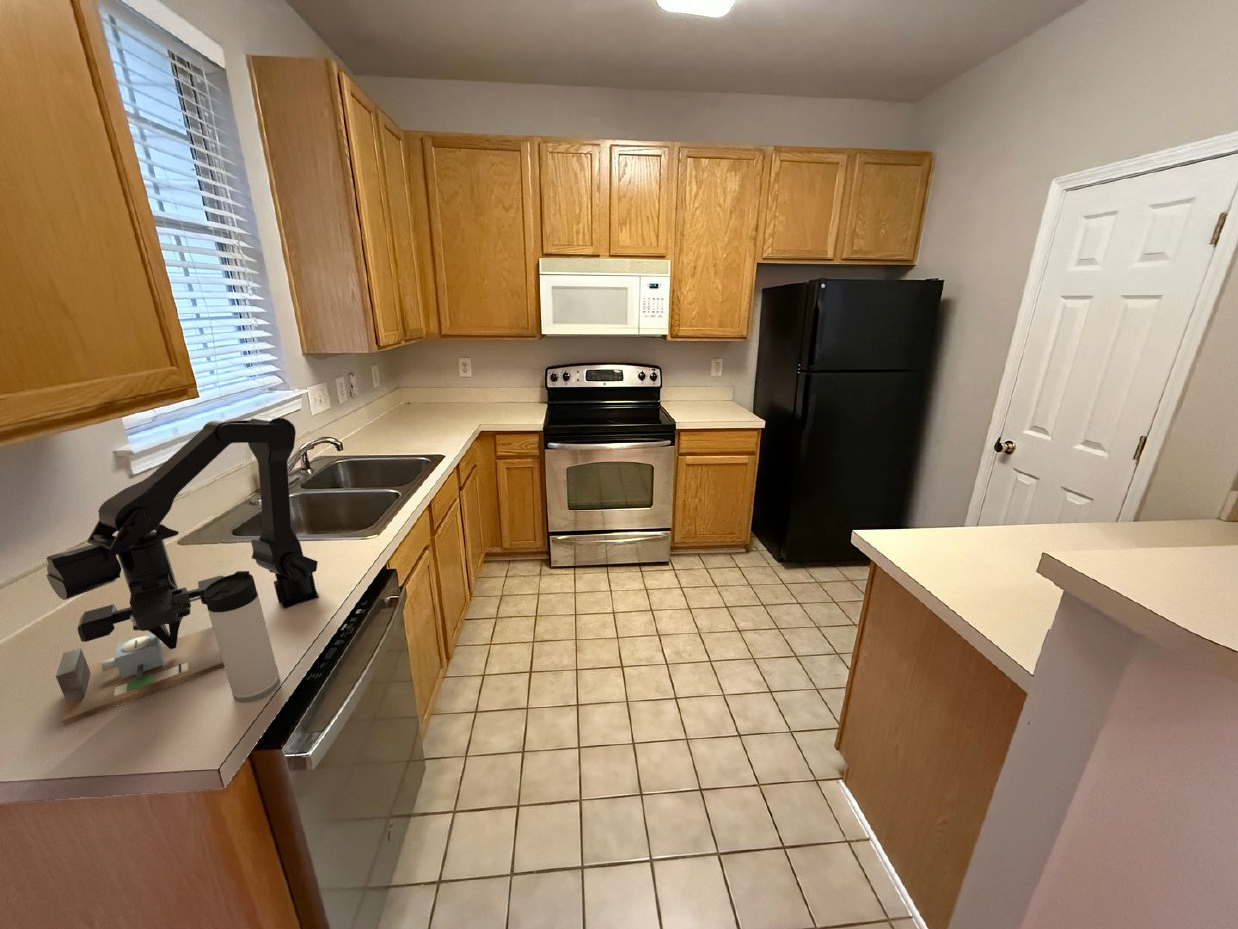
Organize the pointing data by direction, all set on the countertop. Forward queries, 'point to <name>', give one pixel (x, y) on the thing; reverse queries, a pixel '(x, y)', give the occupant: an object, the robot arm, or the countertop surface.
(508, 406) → the countertop surface
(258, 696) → the travel mug
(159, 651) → the force gauge
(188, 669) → the gauge board
